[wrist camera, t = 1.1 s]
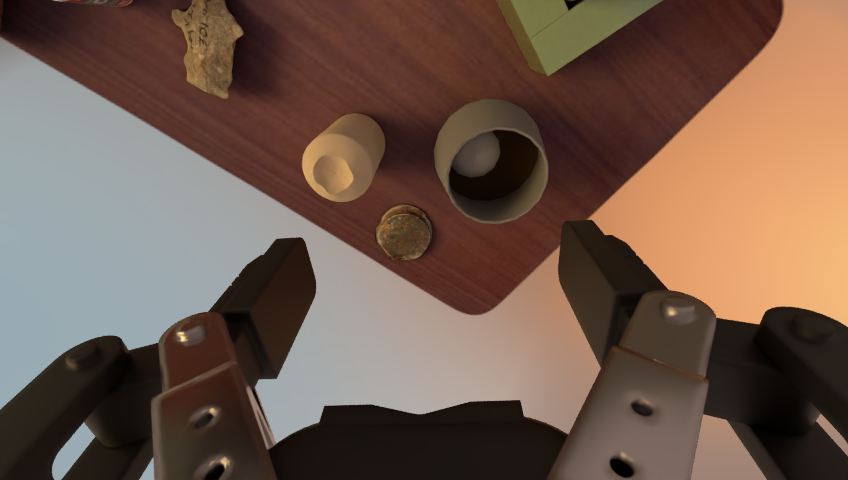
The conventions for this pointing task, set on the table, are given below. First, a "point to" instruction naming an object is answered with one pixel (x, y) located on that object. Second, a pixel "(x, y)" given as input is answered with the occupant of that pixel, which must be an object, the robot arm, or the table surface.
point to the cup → (491, 161)
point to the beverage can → (0, 10)
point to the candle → (344, 158)
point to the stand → (565, 27)
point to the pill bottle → (101, 2)
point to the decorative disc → (403, 232)
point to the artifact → (209, 44)
